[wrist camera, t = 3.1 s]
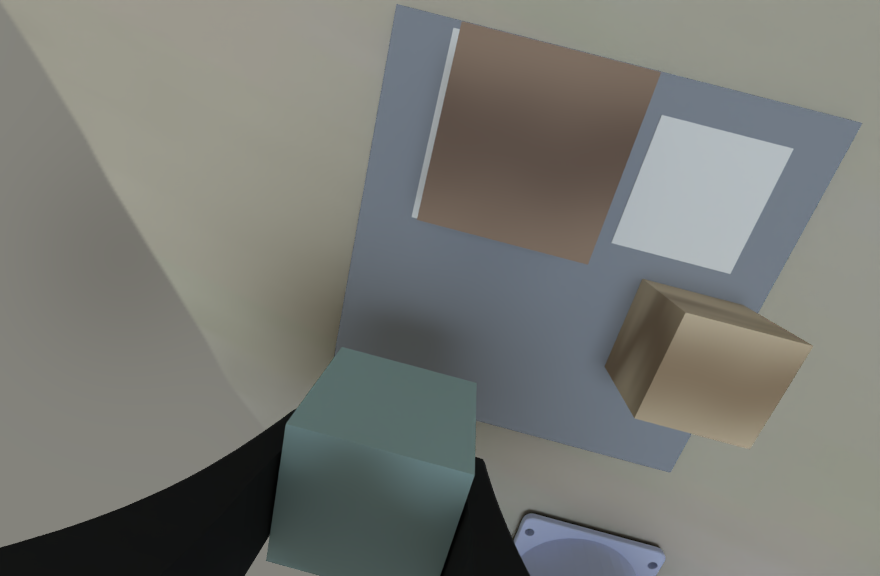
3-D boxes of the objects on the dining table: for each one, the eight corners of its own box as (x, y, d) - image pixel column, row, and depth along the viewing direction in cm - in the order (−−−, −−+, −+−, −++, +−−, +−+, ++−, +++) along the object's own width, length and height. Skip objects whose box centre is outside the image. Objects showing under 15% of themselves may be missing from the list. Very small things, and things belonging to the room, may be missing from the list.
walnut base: (565, 240, 18) (587, 264, 14) (430, 205, 18) (416, 219, 14) (618, 91, 16) (661, 72, 12) (466, 52, 16) (461, 21, 12)
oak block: (697, 391, 19) (749, 449, 16) (604, 366, 19) (634, 418, 16) (743, 305, 18) (813, 346, 14) (642, 278, 18) (685, 312, 14)
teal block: (443, 489, 15) (429, 606, 11) (321, 456, 15) (266, 560, 11) (476, 383, 13) (474, 475, 9) (341, 346, 13) (286, 423, 9)
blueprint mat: (667, 466, 21) (670, 473, 21) (332, 376, 21) (329, 381, 21) (853, 123, 16) (863, 123, 15) (398, 7, 16) (396, 3, 15)
